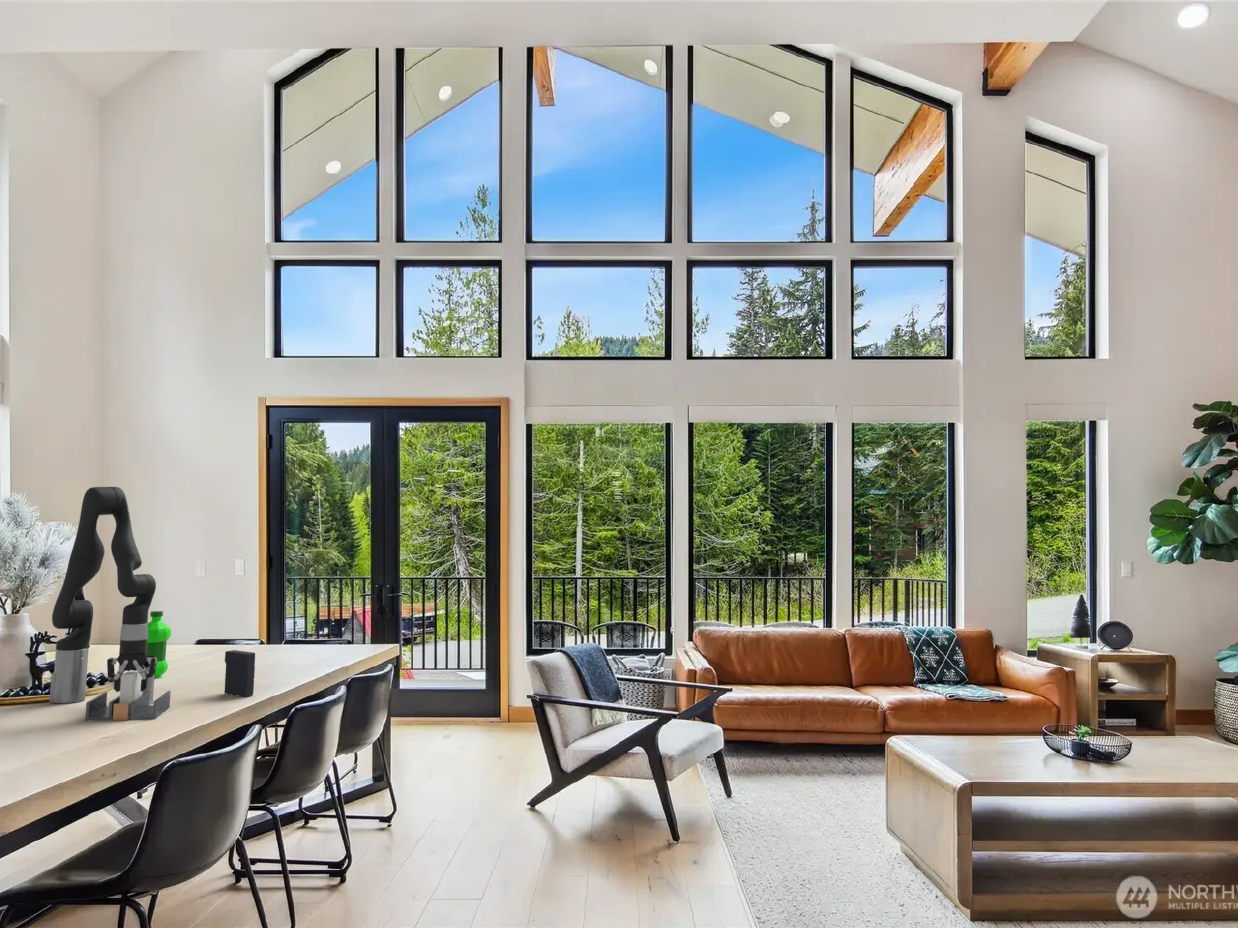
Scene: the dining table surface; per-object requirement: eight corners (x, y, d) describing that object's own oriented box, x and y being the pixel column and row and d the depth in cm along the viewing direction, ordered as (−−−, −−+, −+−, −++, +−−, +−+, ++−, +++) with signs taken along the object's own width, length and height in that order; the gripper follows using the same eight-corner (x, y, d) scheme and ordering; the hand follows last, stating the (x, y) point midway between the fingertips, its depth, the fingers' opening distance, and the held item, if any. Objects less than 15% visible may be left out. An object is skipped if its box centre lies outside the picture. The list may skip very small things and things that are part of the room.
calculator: (255, 695, 294) (257, 652, 295) (244, 697, 290) (247, 653, 291) (232, 691, 298) (235, 649, 299) (222, 693, 294) (225, 651, 295)
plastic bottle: (164, 673, 328) (168, 609, 330) (170, 677, 320) (174, 612, 322) (135, 675, 322) (139, 610, 324) (140, 680, 314) (144, 613, 315)
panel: (118, 714, 257) (121, 675, 258) (131, 705, 269) (133, 668, 270) (129, 714, 258) (131, 674, 259) (141, 705, 269) (144, 668, 270)
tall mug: (138, 707, 272) (141, 660, 273) (105, 702, 276) (108, 657, 277) (160, 701, 280) (163, 656, 281) (128, 697, 284) (131, 653, 285)
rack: (84, 721, 252) (85, 702, 252) (103, 709, 267) (104, 692, 267) (155, 719, 256) (156, 701, 257) (169, 707, 271) (170, 690, 272)
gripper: (104, 639, 258) (100, 694, 257) (155, 639, 262) (151, 693, 260) (112, 636, 266) (109, 689, 264) (162, 635, 269) (159, 688, 268)
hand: (130, 690), depth 262 cm, fingers open, 6 cm apart
